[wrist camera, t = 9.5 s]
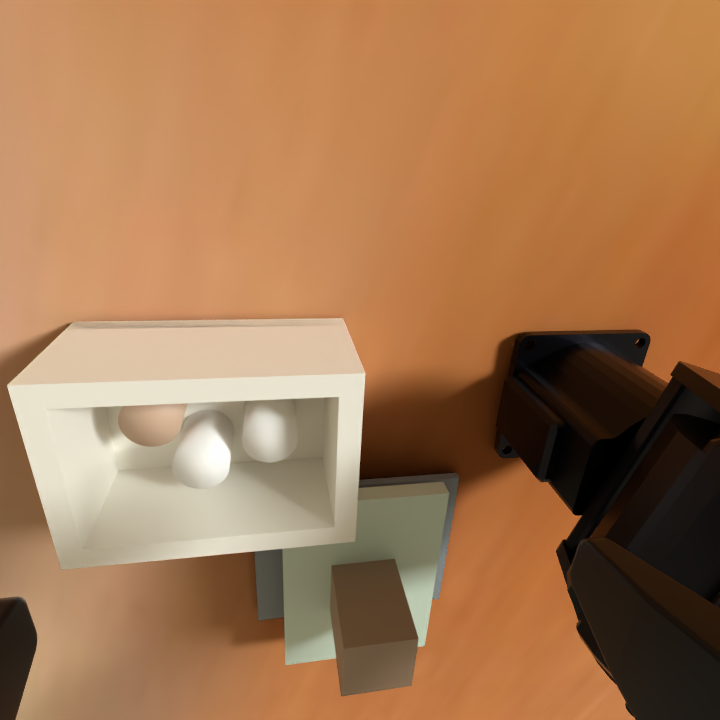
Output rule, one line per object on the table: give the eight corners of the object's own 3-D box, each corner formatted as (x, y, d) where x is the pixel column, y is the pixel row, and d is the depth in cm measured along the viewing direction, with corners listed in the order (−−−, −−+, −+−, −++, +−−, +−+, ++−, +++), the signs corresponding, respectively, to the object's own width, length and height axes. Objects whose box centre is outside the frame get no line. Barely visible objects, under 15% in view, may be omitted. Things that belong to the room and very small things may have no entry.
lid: (415, 615, 27) (449, 728, 22) (284, 632, 26) (288, 755, 21) (436, 468, 23) (485, 565, 18) (280, 479, 22) (284, 587, 16)
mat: (456, 472, 24) (459, 477, 23) (436, 592, 27) (439, 598, 27) (251, 487, 22) (250, 493, 22) (258, 613, 26) (258, 620, 25)
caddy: (342, 318, 19) (365, 373, 15) (337, 460, 22) (355, 541, 18) (73, 321, 18) (6, 385, 13) (106, 475, 20) (61, 569, 16)
